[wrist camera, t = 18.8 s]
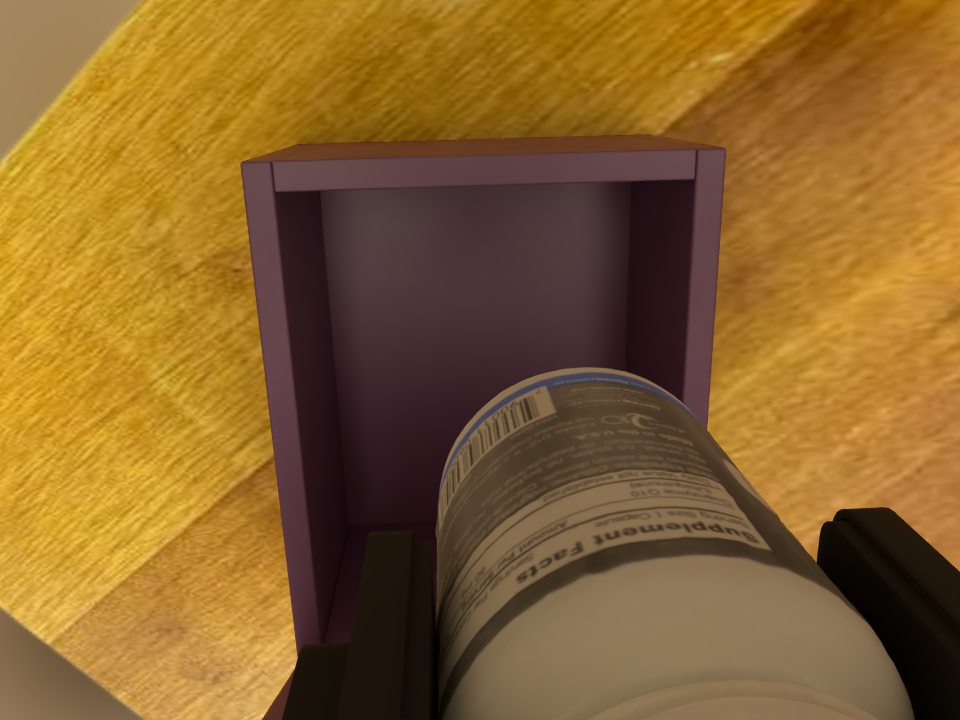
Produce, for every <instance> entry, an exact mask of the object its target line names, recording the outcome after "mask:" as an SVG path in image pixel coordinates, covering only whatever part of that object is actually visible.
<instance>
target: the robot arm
mask: <svg viewBox="0 0 960 720" xmlns="http://www.w3.org/2000/svg"><path fill="white" fill-rule="evenodd" d="M817 564H818V565H819V567H820V568H821V569H822V570H823V572H824V573H825V574H826V576H827V577H828V578H829V579H830V580H831V581H832V582H833V583H834V584H835V586H836V587H837V588H838V589H839V590H840V591H841V593H842V594H843V595H844V597H845V598H846V599H847V600H848V601H849V602H850V603H851V604H852V605H853V606H854V607H855V608H856V609H857V611H858V612H859V613H860V614H861V615H862V616H863V617H864V618H865V620H866V621H867V622H868V624H869V625H870V626H871V628H872V629H873V631H874V632H875V634H876V635H877V637H878V638H879V640H880V641H881V643H882V645H883V647H884V648H885V650H886V652H887V654H888V656H889V657H890V658H891V660H892V661H893V663H894V664H895V667H896V669H897V671H898V673H899V675H900V677H901V679H902V682H903V684H904V686H905V688H906V690H907V693H908V696H909V699H910V702H911V706H912V710H913V713H914V717H915V720H960V572H959V571H958V570H957V569H956V568H955V567H954V566H953V565H952V564H951V563H950V562H949V561H947V560H946V559H945V558H944V557H943V556H942V555H941V554H940V553H939V552H938V551H937V550H935V549H934V548H933V547H932V546H931V545H930V544H929V543H928V542H927V541H926V540H925V539H923V538H922V537H921V536H920V535H919V534H918V533H917V532H916V531H915V530H914V529H913V528H911V527H910V526H909V525H908V524H907V523H906V522H905V521H904V520H903V519H902V518H901V517H899V516H898V515H897V514H896V513H895V512H894V511H892V510H891V509H889V508H885V507H880V508H859V509H841V510H839V511H838V512H837V513H836V515H835V516H834V519H833V521H828V522H825V523H824V524H823V526H822V528H821V532H820V538H819V547H818V555H817ZM435 686H436V619H435V601H434V583H433V565H432V548H431V541H420V542H415V537H414V531H413V530H404V531H384V532H370V533H369V535H368V540H367V546H366V552H365V558H364V563H363V569H362V575H361V581H360V587H359V592H358V598H357V604H356V610H355V616H354V621H353V627H352V633H351V639H350V642H345V643H326V644H307V645H304V646H303V647H302V648H301V650H300V653H299V656H298V659H297V663H296V667H295V671H294V674H293V678H292V682H291V686H290V690H289V694H288V697H287V701H286V705H285V709H284V713H283V717H282V720H435Z"/></svg>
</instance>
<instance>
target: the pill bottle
mask: <svg viewBox="0 0 960 720" xmlns="http://www.w3.org/2000/svg"><path fill="white" fill-rule="evenodd" d="M435 532H436V537H437V553H438V557H437V633H436V686H435V720H915V717H914V713H913V710H912V706H911V702H910V699H909V696H908V693H907V690H906V688H905V686H904V684H903V682H902V679H901V677H900V675H899V673H898V671H897V669H896V667H895V664H894V663H893V661H892V660H891V658H890V657H889V656H888V654H887V652H886V650H885V648H884V647H883V645H882V643H881V641H880V640H879V638H878V637H877V635H876V634H875V632H874V631H873V629H872V628H871V626H870V625H869V624H868V622H867V621H866V620H865V618H864V617H863V616H862V615H861V614H860V613H859V612H858V611H857V609H856V608H855V607H854V606H853V605H852V604H851V603H850V602H849V601H848V600H847V599H846V598H845V597H844V595H843V594H842V593H841V591H840V590H839V589H838V588H837V587H836V586H835V584H834V583H833V582H832V581H831V580H830V579H829V578H828V577H827V576H826V574H825V573H824V572H823V570H822V569H821V568H820V567H819V565H818V564H817V563H816V562H815V560H814V559H813V558H812V557H811V556H810V555H809V554H808V553H807V551H806V550H805V549H804V547H803V546H802V545H801V543H800V542H799V541H798V540H797V539H796V538H795V536H794V535H793V534H792V533H791V532H790V531H789V530H788V529H787V528H786V526H785V525H784V524H783V523H782V522H781V521H780V519H779V517H778V515H777V514H776V513H775V512H774V510H773V509H772V508H771V507H770V506H769V505H768V504H767V503H766V501H765V500H764V499H763V498H762V497H761V496H760V495H759V494H758V492H757V491H756V490H755V489H754V487H753V486H752V485H751V483H750V482H749V481H748V480H747V479H746V478H745V477H744V476H743V474H742V473H741V472H740V471H739V470H738V468H737V467H736V466H735V465H734V463H733V462H732V461H731V460H730V458H729V457H728V456H727V454H726V453H725V452H724V451H723V449H722V448H721V447H720V446H719V445H718V443H717V442H716V441H715V440H714V439H713V437H712V436H711V435H710V433H709V432H708V431H707V430H706V428H705V427H704V426H703V425H702V424H701V423H700V421H699V420H698V419H697V418H696V417H695V415H694V414H693V413H692V412H691V411H690V410H689V409H688V408H687V407H686V406H685V405H684V404H683V403H682V402H681V401H679V400H678V399H677V398H676V397H675V396H673V395H672V394H670V393H669V392H667V391H666V390H664V389H663V388H661V387H659V386H658V385H656V384H654V383H652V382H651V381H649V380H647V379H644V378H642V377H639V376H637V375H634V374H631V373H628V372H625V371H619V370H613V369H608V368H591V367H583V368H570V369H561V370H557V371H552V372H548V373H544V374H540V375H536V376H534V377H531V378H528V379H526V380H523V381H521V382H519V383H517V384H515V385H513V386H511V387H510V388H508V389H506V390H504V391H502V392H501V393H499V394H498V395H497V396H496V397H494V398H493V399H492V400H491V401H489V402H488V403H487V404H486V405H485V406H484V407H483V408H482V409H481V410H480V411H479V412H478V413H477V414H476V415H475V416H474V417H473V418H472V419H471V420H470V421H469V423H468V424H467V425H466V426H465V428H464V429H463V431H462V432H461V433H460V435H459V436H458V438H457V439H456V441H455V443H454V445H453V447H452V449H451V451H450V453H449V456H448V458H447V461H446V464H445V468H444V471H443V475H442V480H441V485H440V491H439V500H438V517H437V524H436V530H435Z"/></svg>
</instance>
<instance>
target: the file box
mask: <svg viewBox="0 0 960 720" xmlns="http://www.w3.org/2000/svg"><path fill="white" fill-rule="evenodd" d="M725 160H726V149H725V148H723V147H717V146H711V145H706V144H700V143H694V142H688V141H682V140H677V139H671V138H665V137H659V136H654V135H648V134H647V135H612V136H576V137H541V138H506V139H471V140H436V141H401V142H365V143H330V144H298V145H295V146H292V147H288V148H285V149H282V150H279V151H275V152H272V153H269V154H266V155H262V156H259V157H256V158H253V159H250V160H246V161H243V162H241V172H242V181H243V190H244V198H245V207H246V215H247V224H248V233H249V241H250V250H251V259H252V267H253V276H254V285H255V293H256V302H257V311H258V319H259V328H260V336H261V345H262V354H263V362H264V371H265V380H266V388H267V397H268V406H269V414H270V423H271V431H272V440H273V449H274V457H275V466H276V475H277V483H278V492H279V501H280V509H281V518H282V527H283V535H284V544H285V552H286V561H287V570H288V578H289V587H290V596H291V604H292V613H293V622H294V630H295V639H296V648H297V656H299V653H300V650H301V648H302V647H303V646H304V645H307V644H326V643H345V642H350V639H351V633H352V627H353V621H354V616H355V610H356V604H357V598H358V592H359V587H360V581H361V575H362V569H363V563H364V558H365V552H366V546H367V540H368V535H369V533H370V532H384V531H404V530H413V531H414V537H415V542H420V541H431V548H432V565H433V583H434V601H435V619H436V633H437V557H438V553H437V537H436V532H435V530H436V524H437V517H438V500H439V491H440V485H441V480H442V475H443V471H444V468H445V464H446V461H447V458H448V456H449V453H450V451H451V449H452V447H453V445H454V443H455V441H456V439H457V438H458V436H459V435H460V433H461V432H462V431H463V429H464V428H465V426H466V425H467V424H468V423H469V421H470V420H471V419H472V418H473V417H474V416H475V415H476V414H477V413H478V412H479V411H480V410H481V409H482V408H483V407H484V406H485V405H486V404H487V403H488V402H489V401H491V400H492V399H493V398H494V397H496V396H497V395H498V394H499V393H501V392H502V391H504V390H506V389H508V388H510V387H511V386H513V385H515V384H517V383H519V382H521V381H523V380H526V379H528V378H531V377H534V376H536V375H540V374H544V373H548V372H552V371H557V370H561V369H570V368H583V367H591V368H608V369H613V370H619V371H625V372H628V373H631V374H634V375H637V376H639V377H642V378H644V379H647V380H649V381H651V382H652V383H654V384H656V385H658V386H659V387H661V388H663V389H664V390H666V391H667V392H669V393H670V394H672V395H673V396H675V397H676V398H677V399H678V400H679V401H681V402H682V403H683V404H684V405H685V406H686V407H687V408H688V409H689V410H690V411H691V412H692V413H693V414H694V415H695V417H696V418H697V419H698V420H699V421H700V423H701V424H702V425H703V426H704V427H705V428H706V430H707V423H708V408H709V394H710V379H711V365H712V350H713V335H714V321H715V306H716V291H717V277H718V262H719V248H720V233H721V218H722V204H723V189H724V175H725Z"/></svg>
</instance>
